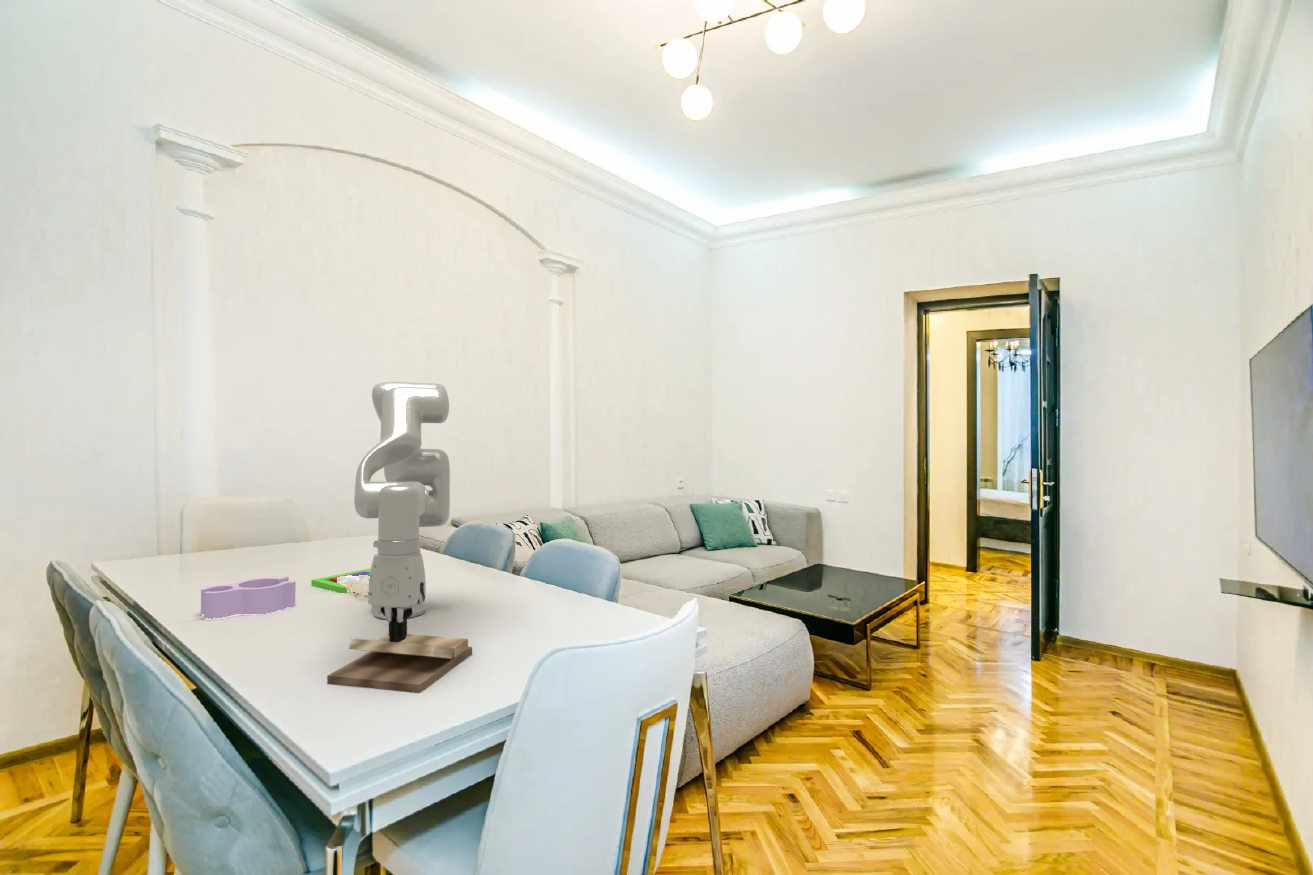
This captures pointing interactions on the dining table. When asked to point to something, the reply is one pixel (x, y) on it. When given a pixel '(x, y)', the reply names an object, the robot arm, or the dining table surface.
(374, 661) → the floor board
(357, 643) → the hinged plank
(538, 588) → the dining table surface
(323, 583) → the toy blocks
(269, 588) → the lilac rounded hollowed piece
